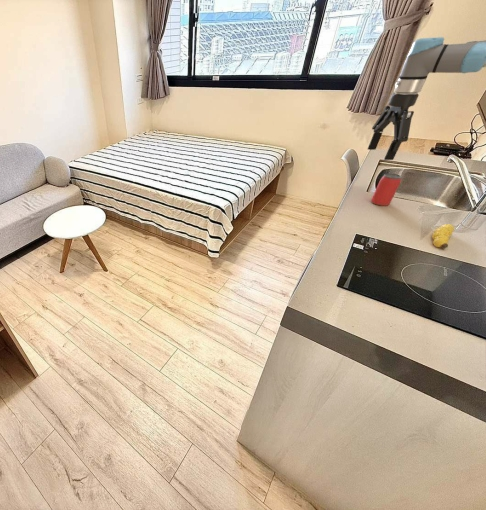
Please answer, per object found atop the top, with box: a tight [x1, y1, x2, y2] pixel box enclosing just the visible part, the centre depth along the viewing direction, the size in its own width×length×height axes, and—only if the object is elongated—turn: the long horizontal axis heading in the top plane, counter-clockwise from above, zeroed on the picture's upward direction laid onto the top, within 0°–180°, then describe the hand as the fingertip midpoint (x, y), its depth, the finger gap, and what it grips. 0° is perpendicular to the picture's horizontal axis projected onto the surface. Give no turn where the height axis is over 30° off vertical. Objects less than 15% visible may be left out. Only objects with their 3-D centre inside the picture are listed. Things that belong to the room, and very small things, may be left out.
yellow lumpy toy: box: [431, 223, 455, 249], centre depth 94 cm, size 15×5×4 cm, turn 131°
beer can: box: [370, 172, 402, 207], centre depth 114 cm, size 7×7×12 cm
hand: (379, 154), depth 110 cm, fingers open, 13 cm apart
